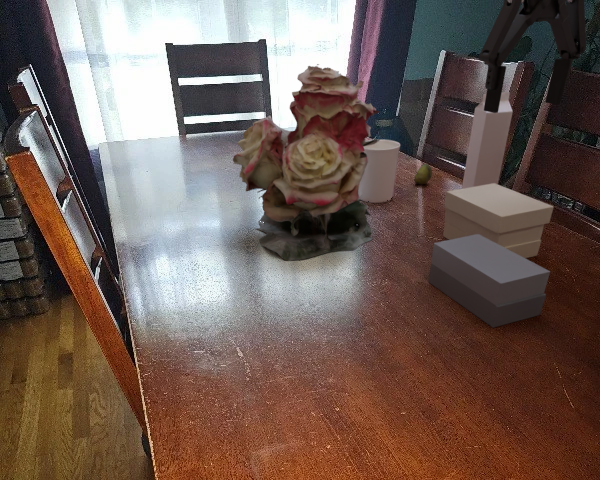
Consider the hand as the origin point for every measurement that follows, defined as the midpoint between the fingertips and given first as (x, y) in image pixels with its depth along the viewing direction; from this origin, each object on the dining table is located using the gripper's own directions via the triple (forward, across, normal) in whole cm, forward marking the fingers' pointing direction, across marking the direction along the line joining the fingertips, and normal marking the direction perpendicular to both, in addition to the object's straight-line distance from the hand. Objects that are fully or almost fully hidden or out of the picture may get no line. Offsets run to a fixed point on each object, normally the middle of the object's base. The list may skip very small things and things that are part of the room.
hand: (522, 107), depth 88 cm
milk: (+23, -13, -22) cm, 35 cm away
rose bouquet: (+23, +32, -19) cm, 44 cm away
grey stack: (+23, +18, +19) cm, 35 cm away
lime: (+23, -8, -38) cm, 45 cm away
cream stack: (+23, +3, +2) cm, 24 cm away
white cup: (+23, +8, -34) cm, 42 cm away
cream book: (+17, +3, +2) cm, 18 cm away
